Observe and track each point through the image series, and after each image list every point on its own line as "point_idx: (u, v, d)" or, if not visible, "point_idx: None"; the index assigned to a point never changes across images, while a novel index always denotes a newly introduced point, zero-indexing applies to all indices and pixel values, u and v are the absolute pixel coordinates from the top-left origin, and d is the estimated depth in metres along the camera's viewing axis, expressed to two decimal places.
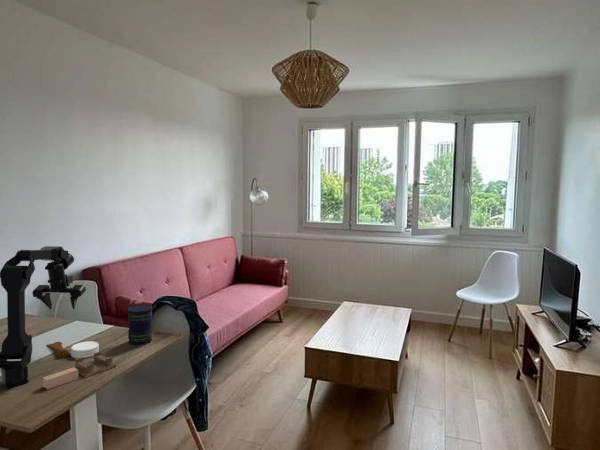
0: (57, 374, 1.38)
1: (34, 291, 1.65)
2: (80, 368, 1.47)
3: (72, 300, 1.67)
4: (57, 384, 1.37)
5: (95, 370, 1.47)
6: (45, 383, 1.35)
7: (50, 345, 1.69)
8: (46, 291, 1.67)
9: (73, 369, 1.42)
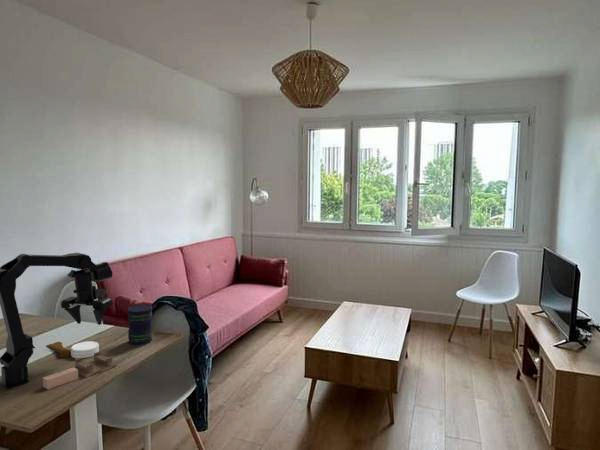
0: (57, 374, 1.38)
1: (62, 302, 1.55)
2: (80, 368, 1.47)
3: (95, 314, 1.53)
4: (57, 384, 1.36)
5: (95, 370, 1.47)
6: (45, 383, 1.35)
7: (50, 345, 1.69)
8: (74, 303, 1.56)
9: (73, 369, 1.42)
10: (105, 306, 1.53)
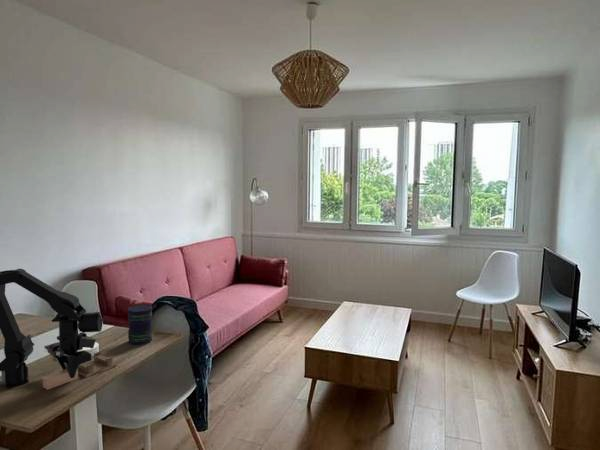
0: (57, 373, 1.38)
1: (49, 346, 1.43)
2: (80, 368, 1.47)
3: (66, 366, 1.37)
4: (57, 383, 1.36)
5: (95, 370, 1.47)
6: (45, 382, 1.34)
7: None
8: None
9: None
10: (79, 362, 1.34)
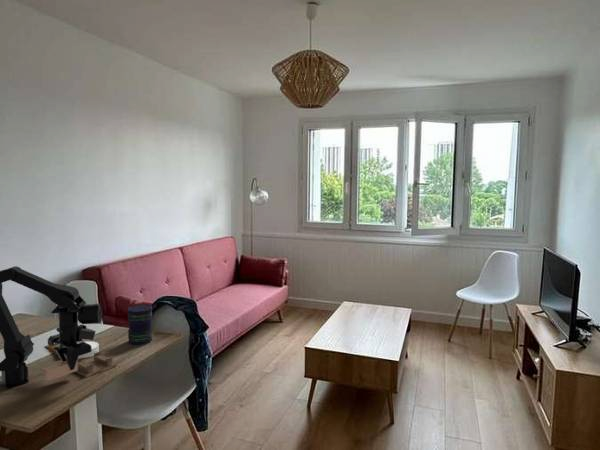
0: (56, 365, 1.38)
1: (49, 338, 1.43)
2: (80, 368, 1.47)
3: (66, 357, 1.37)
4: (57, 375, 1.36)
5: (95, 370, 1.47)
6: (44, 374, 1.34)
7: (48, 346, 1.68)
8: None
9: None
10: (79, 353, 1.34)
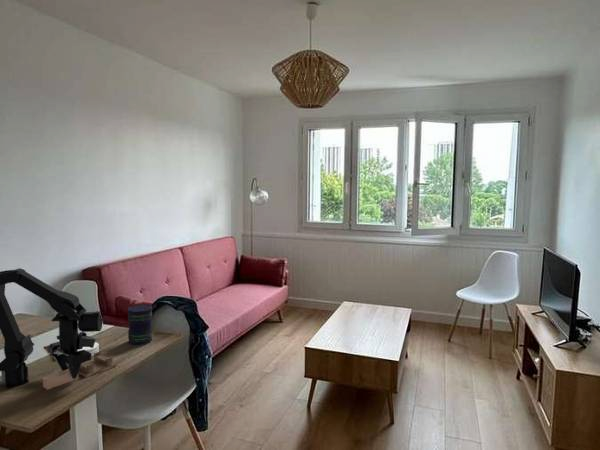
0: (57, 374, 1.38)
1: (49, 345, 1.43)
2: (80, 368, 1.47)
3: (68, 366, 1.36)
4: (57, 384, 1.36)
5: (95, 370, 1.47)
6: (45, 383, 1.34)
7: (47, 347, 1.67)
8: None
9: None
10: (79, 361, 1.34)
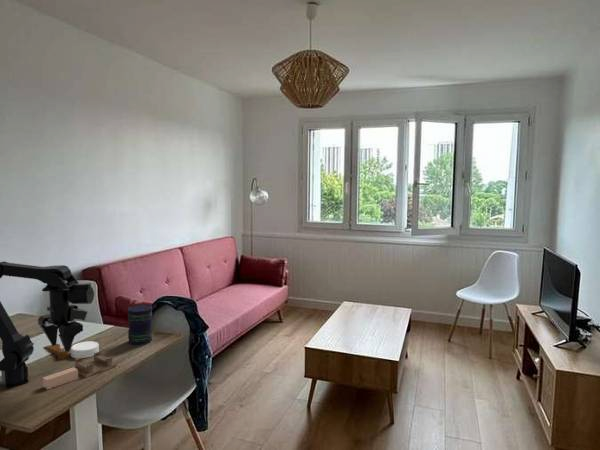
0: (57, 374, 1.38)
1: (40, 317, 1.40)
2: (80, 368, 1.47)
3: (61, 339, 1.33)
4: (57, 384, 1.36)
5: (95, 370, 1.47)
6: (45, 383, 1.34)
7: (48, 347, 1.67)
8: None
9: (73, 369, 1.42)
10: (70, 332, 1.31)
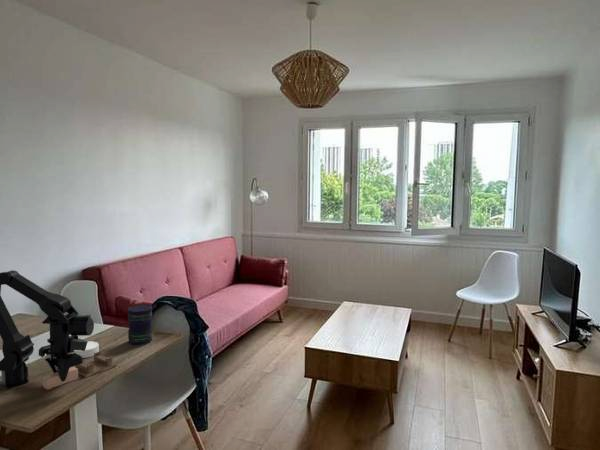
0: (57, 373, 1.38)
1: (40, 348, 1.41)
2: (80, 368, 1.47)
3: (56, 369, 1.35)
4: (57, 383, 1.36)
5: (95, 370, 1.47)
6: (45, 382, 1.34)
7: None
8: None
9: (73, 368, 1.42)
10: (70, 365, 1.32)
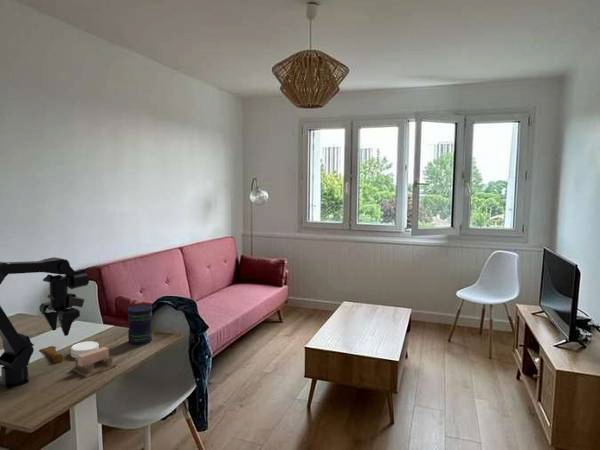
0: (90, 352, 1.49)
1: (41, 305, 1.53)
2: (80, 368, 1.47)
3: (60, 323, 1.45)
4: (90, 361, 1.48)
5: (95, 370, 1.47)
6: (80, 360, 1.46)
7: (43, 350, 1.64)
8: None
9: (105, 348, 1.53)
10: (68, 317, 1.44)
